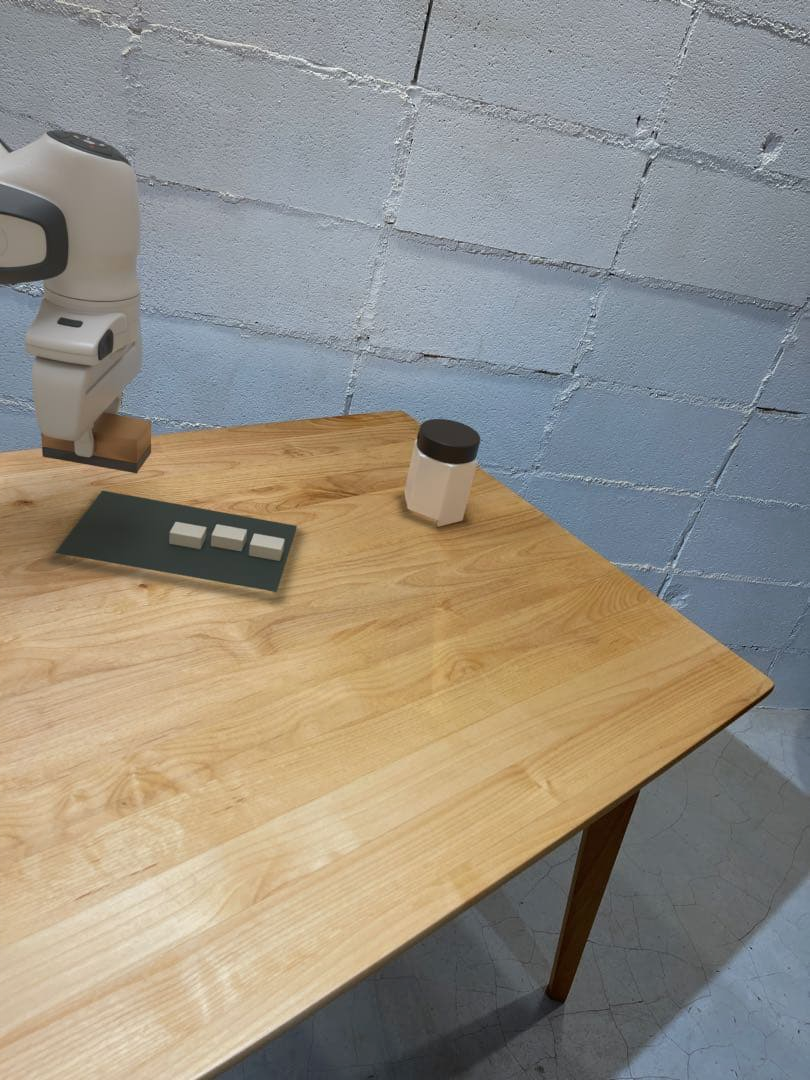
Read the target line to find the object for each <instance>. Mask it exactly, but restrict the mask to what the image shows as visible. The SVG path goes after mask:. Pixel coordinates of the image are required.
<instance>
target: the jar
mask: <svg viewBox="0 0 810 1080" xmlns="http://www.w3.org/2000/svg"><path fill="white" fill-rule="evenodd" d="M480 444H481V436H480V433H478V432H477V431H476V430H475V429H474V428H473V427H471V426H469V425H467V424H465V423H462V422H460V421H456V420H453V419H448V418H447V419H446V418H432V419H428V420H425V421H423V422H422V423H421V424H420V426H419V429H418V433H417V436H416V439H414V444H413V449H412V452H411V458H410V463H409V467H408V473H407V477H406V481H405V488H404V491H403V494H404V499H405V502H406V506H407V510H409V511H412V512H414V513H417V514H420V515H423V516H425V517H428V518H430V519H432V520H435V521H436V527H437V528H440V527H443V526H447V525H451V524H455V523H459V522H463V520H464V517H465V513H466V509H467V506H468V505H467V504H468V501H469V498H470V495H471V494H470V493H471V489H472V484H473V481H474V479H475V474H476V470H477V467H478V461H479V460H478V458H477V455H478V453H479V448H480Z"/></svg>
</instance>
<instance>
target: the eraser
mask: <svg viewBox="0 0 810 1080" xmlns="http://www.w3.org/2000/svg"><path fill="white" fill-rule="evenodd" d="M92 434H93V437H96V438H97V444H96V445H97V450H96V451H95V452H94V453H93V455H92V456H91V457H83V456H78V455H77V454H76V453H75V445H74V441H70V440H63V439H57V438H53V437H48V436H45V435H44V434H43V433H42V432H41V431H40V435H41V437H40V438H41V454H42V458H47V459H54V460H60V461H64V462H71V463H74V464H75V463H76V464H82V465H87V466H94V467H98V468H104V469H108V470H116V471H121V472H126V473H132V474H138V472H139V471H140V469H141V468H142V467H143V465H144V464H145V463H146V461H147V460H148V458H149V457H150V455H151V454H152V420H150V419H149V420H148V419H142V418H137V417H132V416H127V415H120V414H118V415H116V414H110V413H105V412H103V413H102V414H101V415H100V416H99V417H98V419H97V420H96V421H95V422H94V426H93V428H92Z"/></svg>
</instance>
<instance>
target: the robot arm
mask: <svg viewBox="0 0 810 1080" xmlns="http://www.w3.org/2000/svg"><path fill="white" fill-rule="evenodd" d="M138 185H139V184H138V180H137V176H136V172H135V169H134V167H133V166H132V164H131V162H129V160H128V158H127V157H126V156H125V155H124V154H123V153H122V152H121V151H119V149H117V148H116V147H114V146H112V145H111V144H108V143H105V142H104V141H102V140H101V139H97V138H95V137H92V136H89V135H86V134H82V133H78V132H74V131H66V130H62V129H61V130H60V129H54V130H48V131H46V132H45V133H44V134H43V135H42V136H40V137H39V138H37V139H36V140H34V141H33V142H30V143H29V144H27V145H25V146H23V147H20V148H18V149H16V150H13V149H12V148H11V147H10V146H9V145H8V144H7V143H6V142H5V141H4V140H3V139H2V138H1V137H0V286H2V285H3V286H4V285H14V284H25V283H34V282H39V281H42V283H43V285H42V286H43V298H42V299H41V301H40V305H39V309H38V312H37V313H36V316H35V318H34V319H33V321H32V323H31V325H30V326H29V328H28V329H27V331H26V333H25V336H24V338H25V339H24V345H25V351H26V353H27V355H31V356H35V357H34V359H33V362H32V365H31V366H32V367H31V385H32V386H31V388H32V396H33V398H32V399H33V406H34V413H35V420H36V425H37V427H38V429H39V431H40V433H41V432H42V433H43V434H44V435H45V436H48V437H53V438H57V439H63V440H70V441H74V445H75V453H76V454H77V455H78V456H83V457H91V456H92V455H93V453H94V452H95V451H96V450H97V445H96V444H97V438H96V437H93V434H92V428H93V426H94V422H95V421H96V420H97V419H98V417H99V416H100V415H101V414H102V413H103V412H105V413H110V414H116V415H119V412H120V411H119V410H120V407H121V403H122V399H123V391H124V390H125V389H126V388H127V387H128V385H130V383H132V381H133V380H134V379H135V378H136V377H137V376H138V375H139V373H140V372H141V370H142V365H143V357H144V356H143V337H142V335H143V334H142V324H141V294H142V293H141V282H140V280H139V279H140V278H139V276H138V272H137V271H138V270H137V263H138V262H137V261H138V256H139V254H140V250H141V245H142V244H141V242H142V237H141V236H142V235H141V233H142V231H141V230H142V227H141V225H142V224H141V205H140V193H139V186H138Z"/></svg>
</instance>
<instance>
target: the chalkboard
mask: <svg viewBox="0 0 810 1080" xmlns="http://www.w3.org/2000/svg"><path fill="white" fill-rule="evenodd" d="M175 522H180V523H186V524H191V525H197V526H202V527H206V539H205V541H204V543H203V545H202V547H201V549H196V548H190V547H185V546H179V545H174V544H169V535H170V531H171V529H172V527H173V525H174V524H175ZM217 524H218V525H224V526H229V527H235V528H240V529H246V530H247V537H246V542H245V545H244V547H243V550H242V552H241V551H235V550H230V549H224V548H219V547H213V546H211V536H212V533H213V531H214V529H215V527H216V525H217ZM297 528H298V526H297V525H295V524H288V523H285V522H278V521H272V520H268V519H267V520H266V519H263V518H262V519H261V518H256V517H251V516H246V515H240V514H233V513H228V512H223V511H218V510H212V509H208V508H201V507H195V506H189V505H185V504H179V503H173V502H168V501H163V500H158V499H153V498H146V497H141V496H137V495H129V494H125V493H118V492H113V491H108V490H101V491H100V493H99V494H98V495H97V497H96V498H95V499H94V500H93V501H92V503H91V505H90V506H89V507H88V509H87V510H86V511H85V513H83V515H82V516H81V518H80V519H79V520H78V522H77V523H76V524H75V525H74V527H73V528H72V529H71V531H70V532H69V533H68V534H67V536H66V537H65V539H64V540H63V541H62V542H61V544H60V545H59V547H58V548H57V549H56V550H55V551H54V552H55V554H59V555H65V556H71V557H75V558H76V557H77V558H81V559H86V560H87V559H88V560H93V561H97V562H98V561H99V562H104V563H110V564H115V565H121V566H126V567H132V568H139V569H143V570H149V571H155V572H160V573H166V574H173V575H177V576H182V577H183V576H184V577H189V578H193V579H194V578H195V579H201V580H206V581H212V582H217V583H222V584H228V585H234V586H240V587H246V588H251V589H257V590H263V591H268V592H273V593H278V589H279V587H280V583H281V580H282V576H283V573H284V570H285V566H286V563H287V560H288V557H289V554H290V550H291V548H292V544H293V541H294V537H295V534H296V531H297ZM254 533H255V534H260V535H266V536H271V537H277V538H282V539H285V541H284V549H283V553H282V556H281V559H280V561H277V560H271V559H265V558H260V557H254V556H249V548H250V543H251V540H252V538H253V535H254Z"/></svg>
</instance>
